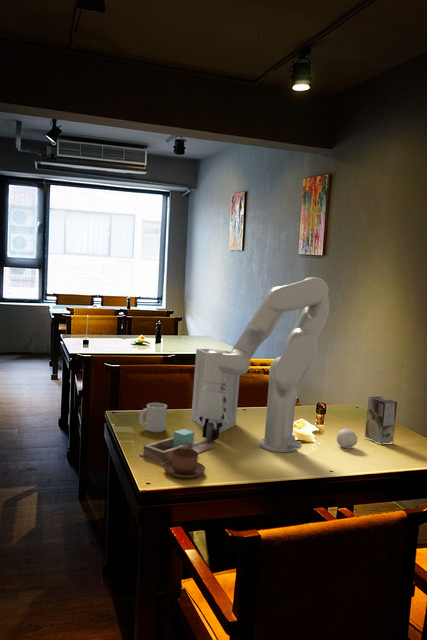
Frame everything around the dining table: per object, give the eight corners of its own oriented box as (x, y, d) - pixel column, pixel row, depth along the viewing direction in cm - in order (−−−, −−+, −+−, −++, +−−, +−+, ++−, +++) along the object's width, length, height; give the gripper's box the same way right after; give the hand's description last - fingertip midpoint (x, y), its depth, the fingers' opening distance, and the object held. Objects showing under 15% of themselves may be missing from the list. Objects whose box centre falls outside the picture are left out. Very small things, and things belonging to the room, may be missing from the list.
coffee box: (393, 444, 201) (398, 401, 200) (381, 445, 198) (385, 402, 197) (376, 436, 209) (380, 395, 208) (363, 437, 207) (367, 396, 205)
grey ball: (350, 452, 188) (352, 433, 187) (332, 446, 193) (333, 428, 192) (360, 448, 193) (362, 430, 192) (342, 443, 198) (343, 425, 197)
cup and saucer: (154, 471, 157) (156, 450, 157) (185, 463, 166) (187, 443, 165) (182, 485, 149) (183, 463, 148) (213, 475, 157) (214, 455, 157)
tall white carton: (245, 430, 204) (251, 357, 202) (209, 432, 198) (215, 357, 196) (224, 416, 222) (229, 349, 219) (190, 418, 216) (195, 348, 213)
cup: (168, 431, 196) (169, 407, 195) (141, 433, 191) (142, 408, 191) (161, 426, 202) (163, 402, 201) (135, 427, 198) (137, 403, 197)
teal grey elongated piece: (208, 436, 191) (209, 421, 191) (218, 440, 188) (219, 424, 188) (172, 448, 176) (173, 431, 176) (183, 451, 174) (184, 435, 173)
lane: (190, 439, 189) (191, 429, 189) (216, 447, 182) (216, 437, 182) (139, 455, 169) (140, 444, 169) (165, 465, 162) (166, 454, 162)
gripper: (240, 389, 185) (235, 441, 187) (202, 380, 195) (198, 430, 196) (227, 392, 179) (223, 446, 181) (188, 383, 189) (185, 434, 190)
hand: (210, 437), depth 188 cm, fingers closed on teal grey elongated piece, 3 cm apart
